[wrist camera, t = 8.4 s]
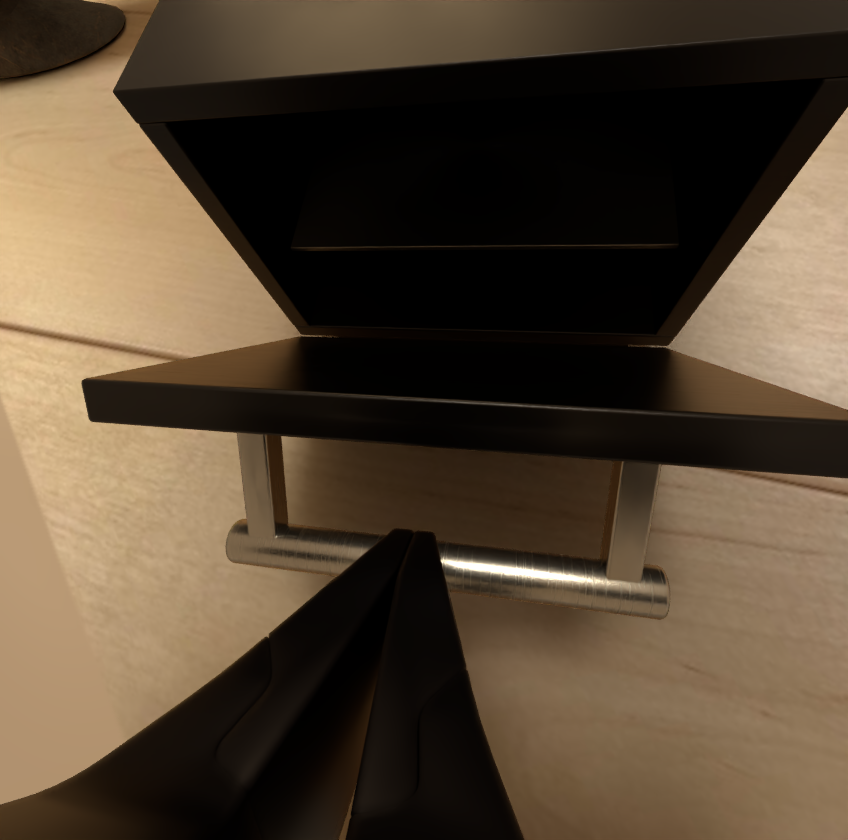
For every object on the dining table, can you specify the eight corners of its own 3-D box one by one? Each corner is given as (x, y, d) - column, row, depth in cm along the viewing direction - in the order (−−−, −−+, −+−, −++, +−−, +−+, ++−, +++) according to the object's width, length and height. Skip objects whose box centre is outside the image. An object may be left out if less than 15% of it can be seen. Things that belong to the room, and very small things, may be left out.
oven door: (644, 476, 18) (806, 694, 8) (307, 449, 21) (122, 589, 11) (666, 347, 17) (894, 423, 7) (299, 336, 20) (78, 379, 10)
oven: (651, 369, 20) (910, 25, 7) (316, 356, 22) (111, 91, 10) (639, 155, 24) (790, -283, 12) (359, 166, 27) (248, -177, 15)
